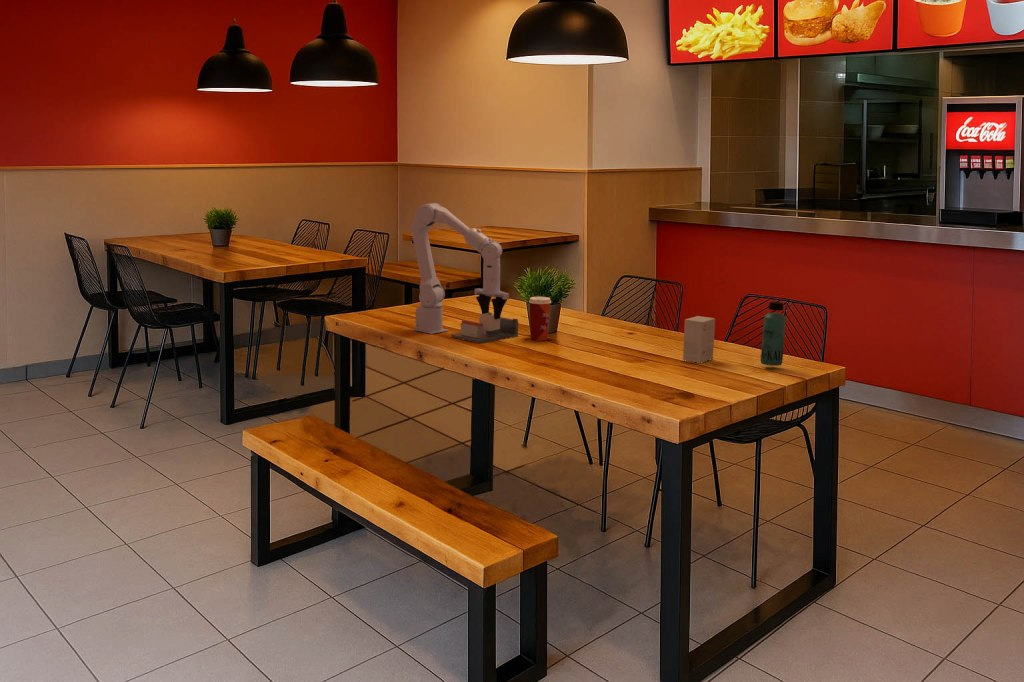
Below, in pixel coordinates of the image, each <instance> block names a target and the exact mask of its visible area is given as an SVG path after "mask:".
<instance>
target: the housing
mask: <svg viewBox="0 0 1024 682" xmlns="http://www.w3.org/2000/svg"><path fill="white" fill-rule="evenodd" d="M478 316H479V317H478V318H479V321H478V323H482V324H483V325H484V330H487V331H493V330H498V329H500V319H494V312H490V311H489V312H488V313H485V314H482V313H481V314H479V315H478Z"/></svg>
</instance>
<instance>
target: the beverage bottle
mask: <svg viewBox="0 0 1024 682" xmlns="http://www.w3.org/2000/svg"><path fill="white" fill-rule="evenodd" d="M768 310H770V311H784V303H783V302H780V301H770V302H769V304H768ZM763 318H764V319H763V330H762V339H761V341H762V342H761V350H760V358H759V359H760V364H762V365H765V366H769V367H770V366H772V367H773V366H775V367H776V366H777V367H778V366H781V365H782V364H783V360H784V349H785V333H786V332H785V331H786V322H787V317H786V316H785V315H784V314H783V313H780V312H767V314H765V315H764V316H763Z"/></svg>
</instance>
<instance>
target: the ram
mask: <svg viewBox="0 0 1024 682" xmlns="http://www.w3.org/2000/svg"><path fill="white" fill-rule="evenodd" d="M460 333H461V335H464V336H468V337H473V338H482V337H484V325H483V324H482V323H479V322H477V321H471V320H467V319H462V320H461V322H460Z"/></svg>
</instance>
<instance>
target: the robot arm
mask: <svg viewBox="0 0 1024 682" xmlns="http://www.w3.org/2000/svg"><path fill="white" fill-rule="evenodd" d="M437 223H438V224H444V225H447V226H449V228H450V229H453V230H454V231H455V232H457V233H458V234H460V235H461V236H462V237H463V238H464V242H465V243H467V245H469V246H470V247H471V248H473V250H475V251H477V252H478V253H479V254H480V255H481V257H482V259H483V264H482V265H483V266H482V268H483V269H482V270H483V271H482V273H483V275H482V278H483V279H482V285H483V286H482V288H480V287H479V288H474V295H476V297H475V299H476V301H477V303H478V305H479V308H480V310H481V314H485V313H488V312H490V304H492V308H493V313H494V319H500V317H502V316H501V315H502V312H503V309H504V306H505V305H506V303H507V301H508V300H509V299H510V293H509V292H505V291H503V290H502V291H501V256H502V254H503V247H502V245H501V244H500V243H499V241H493V238H491V237H488V236H487V235H485V234H484V233H483V232H482V229H481V228H475V227H474V228H473V227H472V228H470V227H469V226H468V225H466V224H465V223H463V221H462V220H460V219H459V218H458V217H456V216H455V215H454V213H451V211H449V210H448V209H447V208H446V207H444V206H442V205H441V204H440V203H438V202H430V203H424V204H421V205H419V206H418V207H417V209H416V210H415V211H414V218H413V222H412V224H411V227H410V229H411V230H410V231H411V236H412V240H413V246H414V251H415V256H416V260H417V265H418V269H419V270H418V271H419V274H420V284H419V296H418V299H419V302H420V304H421V305H420V304H419V305H418V306H417V308H416V309H415V312H414V313H415V316H414V317H415V328H413V331H416V332H421V333H425V334H431V335H432V334H440V333H443V332H448V329H447V328H446V329H445V328H443V321H444V320H443V303H442V302H443V301H444V299H445V296H446V292H445V289H444V288H443V286H442V285H441V281H440V280H439V278H438V276H437V274H436V268H435V264H434V259H433V255H432V248H431V244H430V237H429V235H428V232H429V230H430V229H431V228H432V226H433V225H434V224H437ZM477 295H478V296H477Z"/></svg>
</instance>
